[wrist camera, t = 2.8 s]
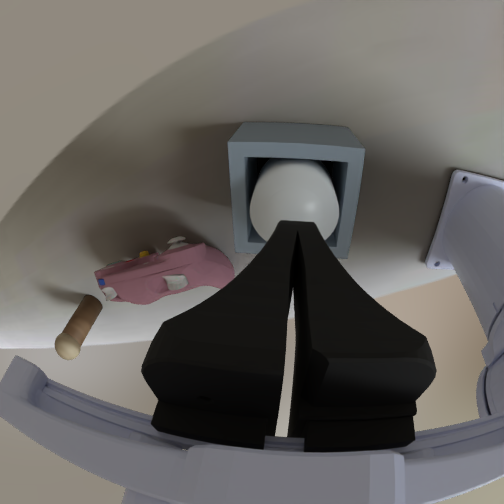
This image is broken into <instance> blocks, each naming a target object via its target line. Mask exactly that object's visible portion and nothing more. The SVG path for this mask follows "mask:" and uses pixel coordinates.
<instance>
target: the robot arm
mask: <svg viewBox="0 0 504 504" xmlns="http://www.w3.org/2000/svg"><path fill="white" fill-rule="evenodd" d="M464 176H466V177H465V180H464V181H462V179H463V177H464ZM437 261H438V262H437ZM435 262H437V263H435ZM425 264H426V266H427V267H428V268H432V269H453V270H455V271H456V273H457V275H458V277H459V279H460V281H461V283H462V285H463V287H464V289H465V291H466V293H467V295H468V297H469V299H470V301H471V303H472V305H473V307H474V309H475V311H476V314H477V316H478V318H479V321H480V323H481V325H482V327H483V330H484V332H485V335H486V337H487V340H488V343H487V345H486V346H485V347H484V348H483V350H482V355H483V358H484V360H485V364H486V366H485V367H484V369H483V370H482V371H481V373H480V376H479V378H478V382H477V390H476V399H477V407H478V412H479V416H480V418H479V419H475V420H471V421H468V422H463V423H460V424H455V425H450V426H446V427H440V428H435V429H429V430H423V431H417V432H415V430H414V422H413V416H414V415H416V412H417V408H416V400H417V399H418V398H419V397H420V396H421V394H422V393H423V392H424V391H425V390H426V389H427V388H428V387H429V385H430V384H431V383H432V381H433V380H434V378H435V375H436V367H435V363H434V359H433V355H432V351H431V348H430V346H429V343H428V341H427V338H426V337H425V336H424V335H422V334H421V333H419V332H418V331H416V330H415V329H413V328H411V327H410V326H408V325H407V324H405V323H404V322H402V321H401V320H399V319H398V318H397V317H395V316H394V315H393V314H391V313H390V312H389V311H387V310H386V309H385V308H384V307H382V306H381V305H380V304H379V303H377V302H376V301H375V300H374V299H373V298H372V297H371V296H370V295H369V294H367V293H366V292H365V291H364V290H363V289H362V288H361V287H360V286H359V285H358V284H357V283H356V282H355V281H354V279H353V278H352V277H351V276H350V275H349V274H348V272H347V271H346V270H345V269H344V267H343V266H342V265H341V264H340V262H339V261H338V260H337V258H336V257H335V255H334V254H333V252H332V251H331V249H330V248H329V246H328V245H327V243H326V242H325V240H324V238H323V237H322V235H321V233H320V231H319V229H318V227H317V225H316V224H315V223H314V222H306V221H289V220H281V221H279V222H278V224H277V226H276V228H275V230H274V232H273V233H272V235H271V237H270V238H269V240H268V241H267V242H266V244H265V245H264V247H263V248H262V249H261V251H260V252H259V253H258V254H257V255H256V257H255V258H254V259H253V260H252V261H251V262H250V264H249V265H248V266H247V267H246V268H245V269H244V270H243V271H242V272H241V273H240V274H238V275H237V276H236V277H235V278H234V279H233V280H232V281H231V282H229V283H228V284H227V285H226V286H224V287H223V288H222V289H221V290H219V291H218V292H217V293H215V294H214V295H212V296H211V297H209V298H208V299H206V300H205V301H203V302H201V303H200V304H198V305H197V306H195V307H193V308H191V309H189V310H187V311H185V312H183V313H181V314H179V315H177V316H175V317H173V318H171V319H169V320H167V321H164V322H163V324H162V325H161V327H160V329H159V330H158V332H157V333H156V335H155V337H154V339H153V341H152V343H151V345H150V347H149V350H148V352H147V354H146V357H145V359H144V362H143V364H142V369H141V372H142V374H143V376H144V379H145V380H146V382H147V384H148V385H149V387H150V388H151V390H152V391H153V393H154V394H155V396H156V397H157V398H158V403H157V405H156V408H155V412H154V415H153V416H151V415H148V414H144V413H140V412H137V411H133V410H130V409H127V408H124V407H121V406H118V405H114V404H111V403H108V402H105V401H103V400H100V399H97V398H94V397H91V396H89V395H86V394H84V393H81V392H79V391H76V390H74V389H71V388H69V387H67V386H64V385H62V384H60V383H57V382H55V381H53V380H51V379H49V378H48V377H47V376H46V375H45V373H44V372H43V371H42V370H41V369H40V368H39V367H37V366H36V365H35V364H33V363H31V362H29V361H27V360H25V359H23V358H21V357H19V356H15V357H14V359H13V361H12V362H11V364H10V366H9V367H8V369H7V371H6V373H5V375H4V376H3V378H2V380H1V382H0V417H2V418H3V419H5V420H6V421H7V422H8V423H10V424H11V425H12V426H14V427H15V428H16V429H18V430H19V431H21V432H22V433H24V434H25V435H26V436H28V437H30V438H31V439H32V440H34V441H36V442H37V443H39V444H40V445H42V446H43V447H45V448H46V449H48V450H50V451H51V452H53V453H55V454H57V455H58V456H60V457H62V458H64V459H66V460H67V461H69V462H71V463H73V464H75V465H77V466H79V467H80V468H82V469H84V470H87V471H88V472H91V473H93V474H95V475H97V476H99V477H101V478H104V479H106V480H108V481H111V482H113V483H115V484H118V485H120V486H123V487H125V488H126V490H125V493H124V497H123V500H122V503H121V504H433V503H437V502H440V501H443V500H446V499H450V498H453V497H456V496H458V495H461V494H464V493H466V492H469V491H472V490H474V489H477V488H479V487H482V486H484V485H486V484H489V483H491V482H493V481H495V480H498V479H500V478H502V477H504V181H503V180H499V179H496V178H492V177H488V176H484V175H480V174H476V173H472V172H467V171H463V170H455V171H454V172H453V173H452V176H451V180H450V184H449V188H448V192H447V195H446V199H445V203H444V206H443V210H442V213H441V216H440V219H439V223H438V226H437V229H436V232H435V235H434V238H433V241H432V244H431V246H430V249H429V252H428V255H427V257H426V260H425ZM292 291H293V293H294V311H295V329H296V347H295V362H294V375H293V387H292V397H291V408H290V417H289V426H288V435H287V437H276V436H275V432H276V425H277V419H278V413H279V406H280V399H281V391H282V384H283V376H284V366H285V354H286V353H285V352H286V336H287V320H288V314H289V309H290V303H291V297H292ZM182 449H185V450H182ZM187 450H188V451H187Z"/></svg>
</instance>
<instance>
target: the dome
mask: <svg viewBox="0 0 504 504" xmlns="http://www.w3.org/2000/svg"><path fill="white" fill-rule="evenodd" d="M250 218H251V222H252V224H253V226H254V228H255V230H256V231H257V233H258V234H259V235H260V236H261V237H262V238H263V239H264V240H265V241H268V240H269V238H270V237H271V235H272V233H273V232H274V230H275V228H276V226H277V224H278V222H279V221H281V220H289V221H306V222H314V223H315V224H316V225H317V227H318V229H319V231H320V233H321V235H322V237H323V238H324V240H326V239H327V238H328V237H329V236H330V235H331V233H332V232H333V231H334V229H335V227H336V225H337V222H338V218H339V205H338V201H337V197H336V194H335V190H334V187H333V183H332V180H331V176H330V174H329V171H328V170H327V168H326V167H325V165H324V164H323V163H322V162H321V161H320V160H314V159H297V158H273V157H272V158H271V159H270V160H268V161H267V162H266V163H265V164H264V166H263V167H262V169H261V171H260V173H259V176H258V179H257V183H256V186H255V189H254V193H253V196H252V199H251V204H250Z"/></svg>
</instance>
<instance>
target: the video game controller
mask: <svg viewBox="0 0 504 504" xmlns="http://www.w3.org/2000/svg"><path fill="white" fill-rule="evenodd" d="M184 239H186V238H185V237H181V236H179V237H175V238H172V239H171V240H169V242H168V244H170V243H173V245H172V246H170V247H169V249H168V250H166V251H165V252H163V253H162V254H160V255H159V254H158V253H152V254H149V253H148V251H142V252H140V253H139V255H140V257H139V258H135V259H132V260H129V261H126V262H124V261H118V262H115V263H112V264H109V265H107V266H106V267H104V268H102V269H100V270H98V271H95V272H94V273H95V276H96V279H97V282H98V285H99V288H100V289H101V290H102V292H103V293H104V294H105V296H106V301H109V300H110V301H117V302H125V301H126V302H131V303H134V304H142V305H146V304H150V303H152V302H155V301H157V300H158V299H160V298H162V297H164V296H167V295H171V294H176V293H181V292H184V291H187V290H190V289H193V288H196V287H199V286H213V287H217V288H220V289H222V288H223V287H224V286H226V285H227V284H228V283H229V282H231V281H232V280H233V279H234V268H233V266H232V264H231V262H230V261H229V259H228V258H227V257H226V256H225V255H224V254H223V253H222V252H221V251H219V250H218V249H215V248H213V247H211V246H207V245H205V244H204V243H198V244H188V243H185V242H181V240H184Z"/></svg>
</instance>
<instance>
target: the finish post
mask: <svg viewBox="0 0 504 504" xmlns="http://www.w3.org/2000/svg"><path fill="white" fill-rule="evenodd" d="M101 310H102V304H101V303H100V301H99V300H98V299H97V298H95V297H93V296H91V295H86V296H85V297H84V299H83V300H82V302H81V303H80V305H79V306H78V308H77V309H76V311H75V312H74V314H73V316H72V317H71V319H70V320H69V322H68V324H67V325H66V327H65V328H64V330H63V332H62V333H61V334H59V335H58V336H57V338H56V340H55V349H56V351H57V353H58V355H59V356H60V357H62V358H63V359H66V360H72V359H74V358H76V357H77V356H78V355H79V353H80V347H81V345H82V343H83V341H84V340H85V338H86V336H87V334H88V332H89V331H90V329H91V327H92V325H93V324H94V322H95V320H96V318H97V317H98V315H99V313H100V312H101Z"/></svg>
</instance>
